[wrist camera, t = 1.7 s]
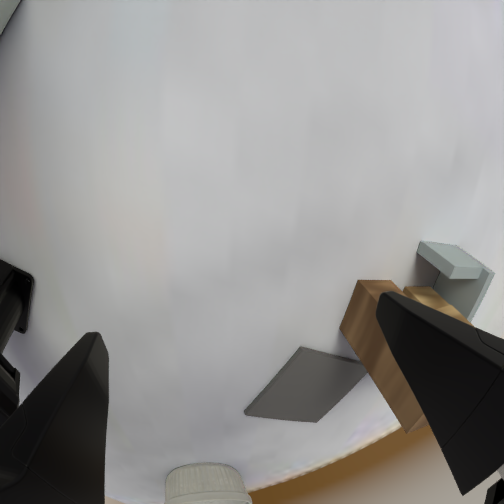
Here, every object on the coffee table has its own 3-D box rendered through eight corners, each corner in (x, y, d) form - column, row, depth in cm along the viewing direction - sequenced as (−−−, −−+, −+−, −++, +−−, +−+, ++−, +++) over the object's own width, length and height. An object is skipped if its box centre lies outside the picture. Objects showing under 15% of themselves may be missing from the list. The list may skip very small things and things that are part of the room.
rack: (371, 354, 32) (396, 391, 27) (420, 240, 26) (462, 272, 21) (408, 348, 34) (434, 380, 29) (457, 245, 28) (495, 273, 23)
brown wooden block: (339, 328, 29) (406, 433, 18) (358, 279, 27) (446, 384, 15) (371, 325, 30) (440, 419, 19) (390, 280, 28) (477, 372, 17)
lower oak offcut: (390, 318, 30) (410, 342, 27) (404, 286, 29) (427, 309, 25) (415, 316, 31) (435, 337, 28) (429, 286, 30) (452, 306, 26)
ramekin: (257, 459, 40) (268, 497, 34) (226, 487, 44) (233, 519, 38) (170, 454, 35) (175, 498, 29) (154, 484, 39) (157, 518, 33)
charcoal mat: (315, 419, 37) (316, 422, 36) (244, 411, 32) (245, 415, 32) (370, 363, 33) (372, 367, 33) (300, 346, 29) (302, 350, 28)
